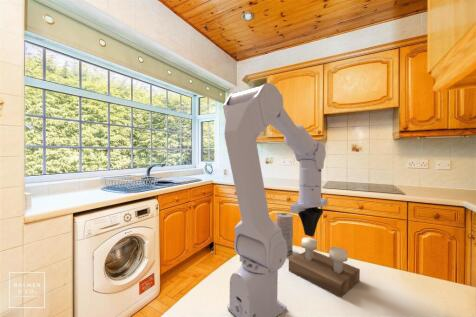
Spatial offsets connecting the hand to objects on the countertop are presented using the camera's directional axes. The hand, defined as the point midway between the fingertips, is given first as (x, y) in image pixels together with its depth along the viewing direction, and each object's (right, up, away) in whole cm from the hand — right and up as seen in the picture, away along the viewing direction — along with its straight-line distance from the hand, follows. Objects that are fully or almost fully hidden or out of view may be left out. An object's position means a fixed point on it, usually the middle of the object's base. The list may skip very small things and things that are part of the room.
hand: (309, 235), depth 58 cm
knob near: (+5, -7, -6) cm, 11 cm away
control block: (+2, -10, -3) cm, 10 cm away
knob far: (0, -7, 0) cm, 7 cm away
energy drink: (-5, -9, +11) cm, 15 cm away
